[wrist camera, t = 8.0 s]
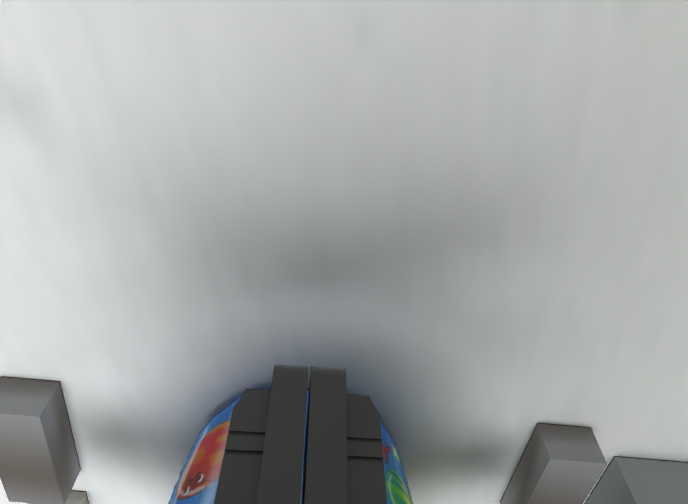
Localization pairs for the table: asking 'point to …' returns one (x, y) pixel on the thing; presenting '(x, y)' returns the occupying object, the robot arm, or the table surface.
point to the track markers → (58, 500)
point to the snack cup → (207, 454)
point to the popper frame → (642, 482)
